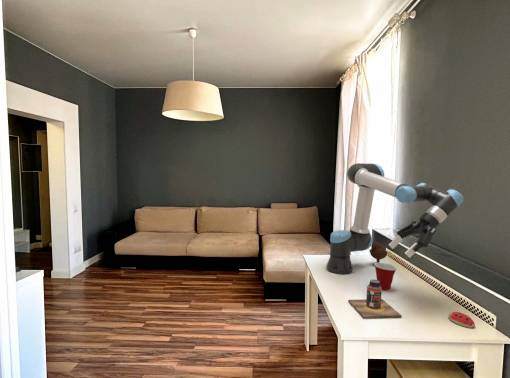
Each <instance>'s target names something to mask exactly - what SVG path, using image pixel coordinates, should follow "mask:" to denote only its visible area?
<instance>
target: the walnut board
mask: <svg viewBox="0 0 510 378" xmlns="http://www.w3.org/2000/svg"><path fill="white" fill-rule="evenodd" d="M347 301H348V303H349V304H350V305H351V307H352V306H353V307H354V308H353V307H352V308H353V309H354V310H355V311H356V312H357V313H358V314H359V316H360V317H361V318H362V319H363V320H368V319H369V320H371V319H373V320H374V319H401V318H402V317H403V316H402V314H401V313H400V312H398V311H397V310H396V309H395V308H394V307H393V306H391V305H390V304H389V303H388V302H386V301H385V300H384V299H383V298H381V308H379V309H372V308H369V307H368V306H367V305H366V298H365V299H364V298H363V299H348V300H347Z"/></svg>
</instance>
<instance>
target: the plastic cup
mask: <svg viewBox="0 0 510 378" xmlns="http://www.w3.org/2000/svg"><path fill="white" fill-rule="evenodd" d="M373 264H374V265H375V266H374V265H373V266H374V268H375V270H374V271H375V275H376V280H378V281H379V282H380V286H381V288H382V291H389V290H391V288H392V284H393V280H394V275H395V272H396V271H397V270H398V267H397V266H395V265H392V264H390V263H385V262H380V263H377V262H373Z"/></svg>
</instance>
